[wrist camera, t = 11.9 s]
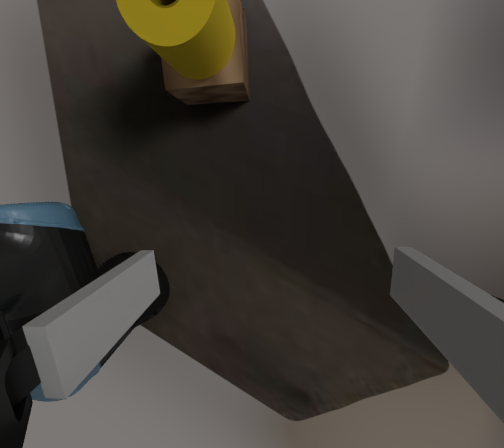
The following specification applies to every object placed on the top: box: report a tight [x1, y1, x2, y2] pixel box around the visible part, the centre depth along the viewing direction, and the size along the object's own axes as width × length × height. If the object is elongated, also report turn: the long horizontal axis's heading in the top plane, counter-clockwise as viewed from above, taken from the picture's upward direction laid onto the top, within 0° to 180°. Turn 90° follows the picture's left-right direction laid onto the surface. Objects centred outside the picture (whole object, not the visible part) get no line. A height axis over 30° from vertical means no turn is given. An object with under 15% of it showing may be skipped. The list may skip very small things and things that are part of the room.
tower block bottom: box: [179, 8, 250, 105], centre depth 37 cm, size 11×11×4 cm
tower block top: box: [161, 0, 247, 99], centre depth 33 cm, size 11×11×4 cm
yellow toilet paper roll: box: [116, 0, 235, 80], centre depth 26 cm, size 10×10×9 cm
